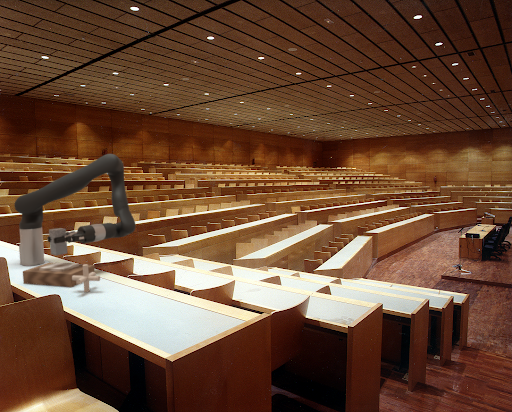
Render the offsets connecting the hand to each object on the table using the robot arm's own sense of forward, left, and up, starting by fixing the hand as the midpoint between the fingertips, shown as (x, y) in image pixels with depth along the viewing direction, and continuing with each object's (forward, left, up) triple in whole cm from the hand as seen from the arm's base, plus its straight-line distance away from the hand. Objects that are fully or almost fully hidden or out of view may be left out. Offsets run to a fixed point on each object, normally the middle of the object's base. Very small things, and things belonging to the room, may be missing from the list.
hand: (51, 240), depth 149 cm
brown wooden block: (+1, +2, -17) cm, 17 cm away
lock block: (+1, +3, -6) cm, 7 cm away
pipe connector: (+21, -8, -17) cm, 28 cm away
